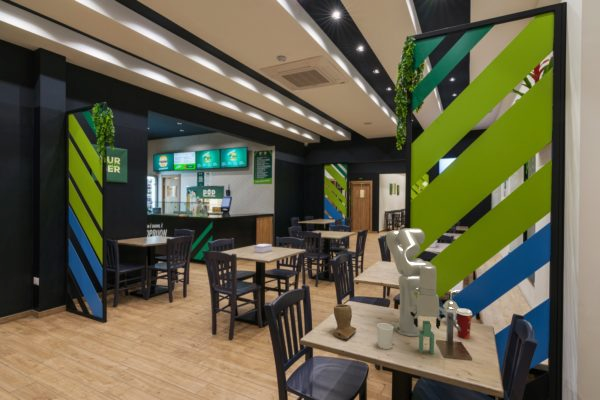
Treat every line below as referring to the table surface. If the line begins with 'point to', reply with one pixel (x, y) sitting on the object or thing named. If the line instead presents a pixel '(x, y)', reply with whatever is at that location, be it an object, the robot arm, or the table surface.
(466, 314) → the paper cup
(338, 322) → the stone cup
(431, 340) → the green link
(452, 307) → the soap dispenser
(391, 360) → the table surface
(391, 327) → the white cup
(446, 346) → the hook stand
